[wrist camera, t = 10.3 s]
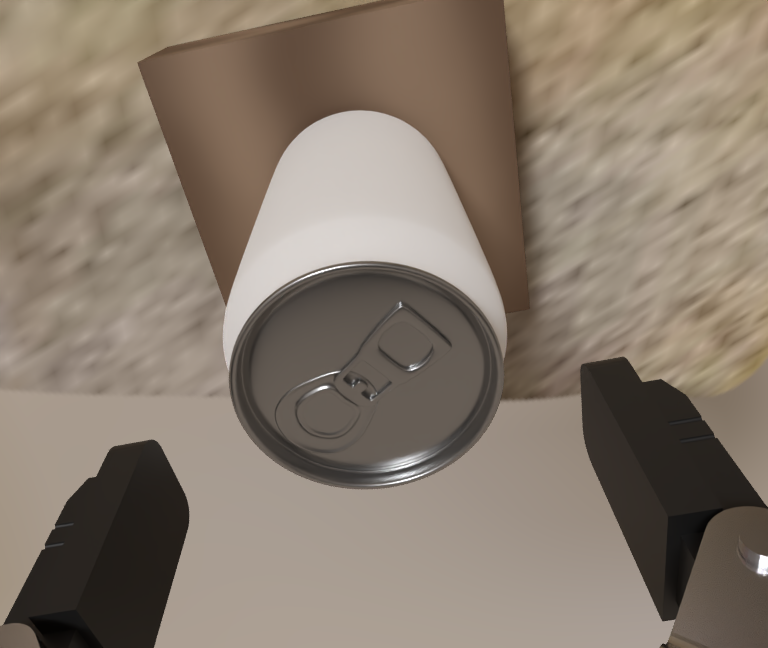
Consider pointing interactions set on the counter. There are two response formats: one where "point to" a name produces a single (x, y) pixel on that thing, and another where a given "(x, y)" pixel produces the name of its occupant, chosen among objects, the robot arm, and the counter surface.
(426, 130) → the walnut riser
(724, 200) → the counter surface
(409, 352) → the can
